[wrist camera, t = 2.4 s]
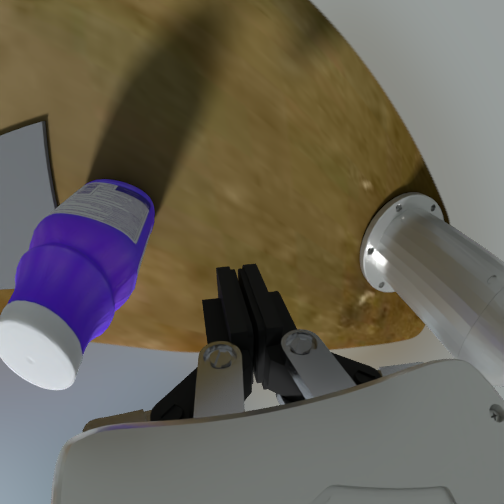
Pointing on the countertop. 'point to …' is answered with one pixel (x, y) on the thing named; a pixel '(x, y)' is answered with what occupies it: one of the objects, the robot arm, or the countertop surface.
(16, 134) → the mat
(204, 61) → the countertop surface
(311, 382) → the robot arm
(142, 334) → the countertop surface
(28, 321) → the bottle
